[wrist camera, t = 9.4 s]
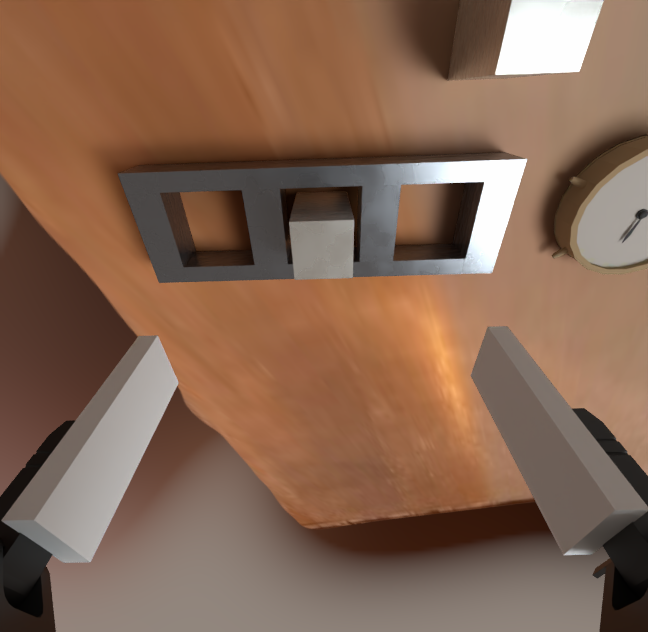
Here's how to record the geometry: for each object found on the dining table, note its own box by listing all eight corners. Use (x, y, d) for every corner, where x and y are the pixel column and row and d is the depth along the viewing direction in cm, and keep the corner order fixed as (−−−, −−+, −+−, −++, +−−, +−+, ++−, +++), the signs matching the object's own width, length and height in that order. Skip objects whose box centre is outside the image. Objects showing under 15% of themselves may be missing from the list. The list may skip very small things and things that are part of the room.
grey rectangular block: (296, 192, 28) (288, 221, 22) (346, 191, 28) (354, 219, 22) (300, 240, 31) (294, 279, 24) (346, 238, 31) (352, 277, 24)
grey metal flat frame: (139, 165, 27) (117, 173, 24) (504, 152, 26) (526, 159, 23) (173, 266, 32) (159, 282, 29) (476, 256, 32) (491, 273, 29)
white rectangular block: (460, -4, 21) (522, -49, 14) (528, -6, 21) (622, -53, 14) (447, 80, 24) (495, 74, 17) (507, 78, 24) (579, 71, 17)
